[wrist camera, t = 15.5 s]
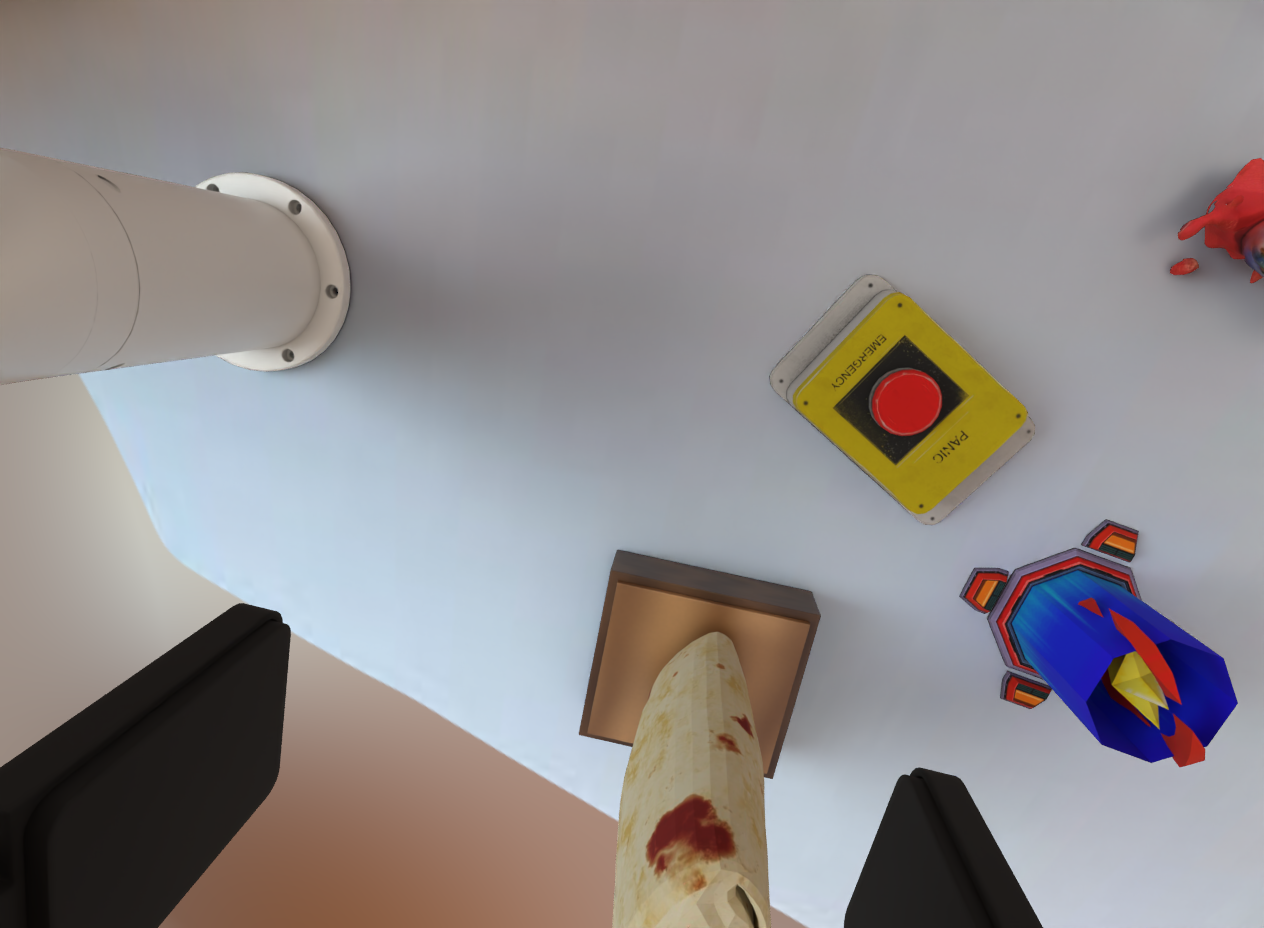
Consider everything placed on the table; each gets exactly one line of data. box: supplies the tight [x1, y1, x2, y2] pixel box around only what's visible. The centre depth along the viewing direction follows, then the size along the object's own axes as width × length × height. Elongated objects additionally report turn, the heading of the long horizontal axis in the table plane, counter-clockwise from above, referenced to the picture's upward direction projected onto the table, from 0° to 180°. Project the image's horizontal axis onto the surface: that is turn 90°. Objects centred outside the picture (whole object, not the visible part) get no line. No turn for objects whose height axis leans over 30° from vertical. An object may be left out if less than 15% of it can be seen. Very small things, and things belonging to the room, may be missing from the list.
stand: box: [579, 550, 821, 779], centre depth 47 cm, size 14×13×4 cm
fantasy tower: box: [960, 519, 1238, 767], centre depth 39 cm, size 12×12×12 cm
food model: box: [613, 632, 771, 928], centre depth 35 cm, size 10×7×20 cm
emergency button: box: [770, 275, 1035, 525], centre depth 40 cm, size 9×4×15 cm
